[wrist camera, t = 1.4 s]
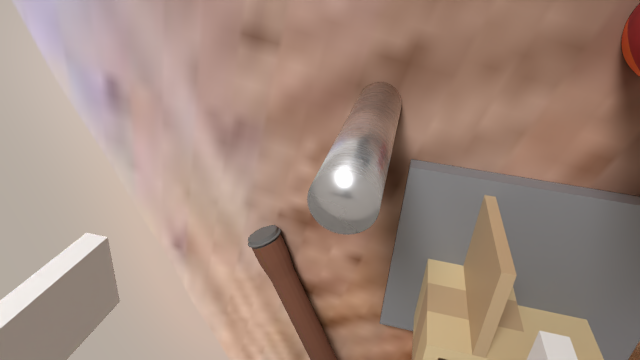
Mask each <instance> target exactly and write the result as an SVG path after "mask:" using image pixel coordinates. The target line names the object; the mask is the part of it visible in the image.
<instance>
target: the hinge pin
mask: <svg viewBox="0 0 640 360" xmlns="http://www.w3.org/2000/svg"><path fill="white" fill-rule="evenodd" d="M401 106H402V100H401V96H400V94H399V92H398V91H397V90H396V88H394V87H393V86H392V85H390V84H388V83H384V82H375V83H372V84H370V85H368V86H366V87H365V88H364V89H363V90H362V92H361V94H360V95H359V97H358V99H357V101H356V103H355V105H354V107H353V108H352V110H351V112H350V114H349V116H348V118H347V120H346V121H345V123H344V125H343V127H342V129H341V131H340V133H339V134H338V136H337V138H336V140H335V142H334V144H333V146H332V147H331V149H330V151H329V153H328V155H327V157H326V159H325V160H324V162H323V164H322V166H321V168H320V170H319V172H318V173H317V175H316V177H315V179H314V181H313V183H312V185H311V187H310V189H309V192H308V197H307V201H308V207H309V210H310V212H311V214H312V216H313V217H314V219H315V220H316V221H317V222H318V223H319V224H320V225H321V226H323V227H324V228H326V229H328V230H330V231H332V232H335V233H338V234H348V235H349V234H356V233H360V232H362V231H364V230H366V229H368V228H369V227H370V226H371V225H372V224H373V223H374V222H375V220H376V219H377V217H378V214H379V210H380V205H381V201H382V196H383V191H384V187H385V182H386V177H387V172H388V168H389V163H390V158H391V154H392V149H393V144H394V139H395V135H396V130H397V125H398V121H399V116H400V111H401Z"/></svg>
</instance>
